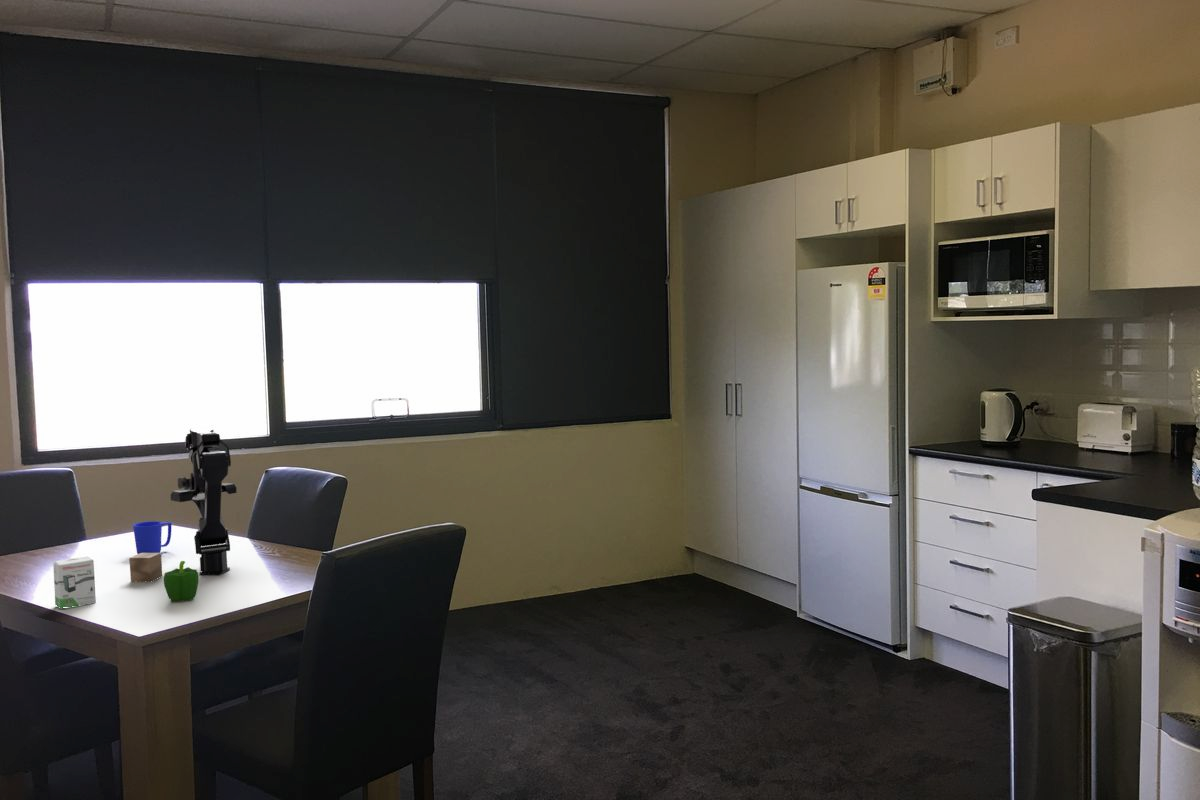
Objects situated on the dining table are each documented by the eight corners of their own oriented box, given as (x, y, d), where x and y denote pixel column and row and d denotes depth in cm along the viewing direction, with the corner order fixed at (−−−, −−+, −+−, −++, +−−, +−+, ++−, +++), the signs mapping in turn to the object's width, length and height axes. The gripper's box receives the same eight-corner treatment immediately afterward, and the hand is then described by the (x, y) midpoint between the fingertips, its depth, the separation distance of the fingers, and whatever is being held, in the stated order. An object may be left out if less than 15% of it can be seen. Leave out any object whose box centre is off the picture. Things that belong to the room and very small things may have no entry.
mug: (179, 551, 310) (178, 520, 309) (144, 559, 300) (143, 527, 299) (164, 548, 315) (162, 518, 314) (129, 556, 305) (127, 525, 304)
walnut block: (162, 576, 279) (161, 552, 278) (151, 582, 273) (149, 557, 272) (142, 576, 279) (141, 552, 279) (130, 582, 273) (129, 557, 273)
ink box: (60, 610, 247) (57, 564, 246) (54, 606, 250) (52, 561, 249) (96, 603, 253) (94, 558, 252) (91, 599, 256) (88, 555, 255)
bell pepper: (187, 605, 249) (185, 567, 248) (159, 604, 251) (156, 566, 250) (206, 595, 257) (204, 559, 257) (178, 595, 259) (176, 558, 258)
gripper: (216, 463, 305) (219, 512, 306) (159, 471, 290) (162, 522, 291) (236, 466, 298) (239, 516, 299) (179, 474, 283) (182, 526, 284)
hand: (205, 520), depth 294 cm, fingers closed
